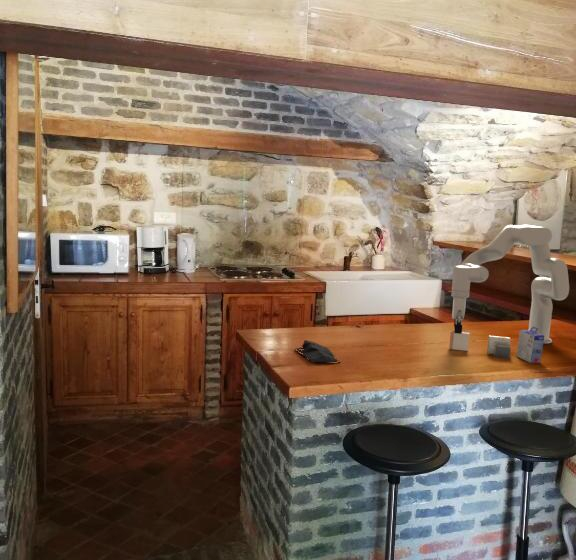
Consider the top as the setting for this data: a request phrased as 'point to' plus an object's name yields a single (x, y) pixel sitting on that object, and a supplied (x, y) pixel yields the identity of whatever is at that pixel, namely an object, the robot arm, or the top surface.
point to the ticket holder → (499, 346)
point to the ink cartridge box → (530, 345)
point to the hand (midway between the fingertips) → (457, 330)
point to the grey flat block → (459, 341)
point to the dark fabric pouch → (316, 352)
